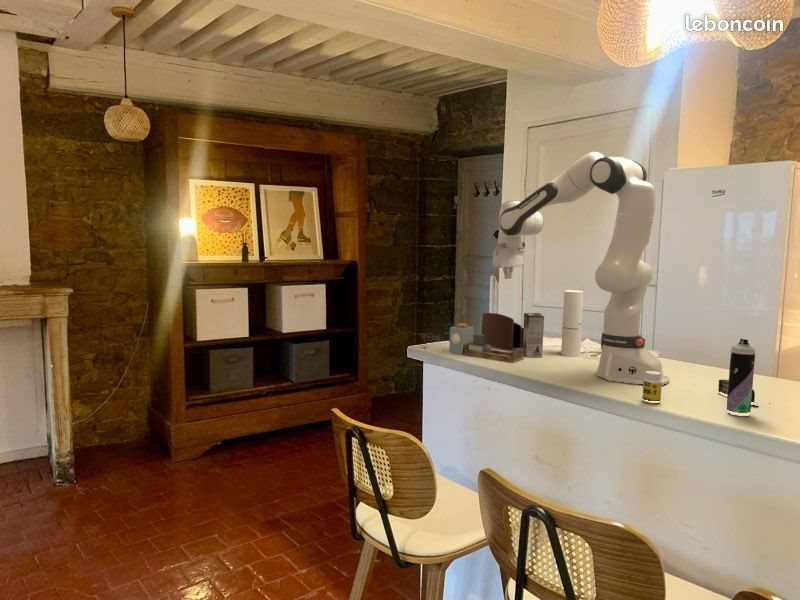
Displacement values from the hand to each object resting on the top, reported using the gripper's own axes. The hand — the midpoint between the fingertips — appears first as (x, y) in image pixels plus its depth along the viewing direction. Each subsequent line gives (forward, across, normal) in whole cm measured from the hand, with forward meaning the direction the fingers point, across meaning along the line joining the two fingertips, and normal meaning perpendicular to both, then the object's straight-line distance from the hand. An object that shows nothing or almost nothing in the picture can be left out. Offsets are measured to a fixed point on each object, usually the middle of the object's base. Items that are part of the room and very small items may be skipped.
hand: (508, 278), depth 231 cm
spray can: (+29, -34, -86) cm, 97 cm away
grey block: (+29, -13, +12) cm, 34 cm away
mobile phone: (+29, -18, -84) cm, 91 cm away
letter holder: (+30, +11, +6) cm, 32 cm away
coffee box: (+29, +1, -11) cm, 31 cm away
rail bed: (+29, -13, -2) cm, 32 cm away
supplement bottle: (+29, -37, -65) cm, 80 cm away
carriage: (+28, -13, +4) cm, 31 cm away
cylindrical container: (+29, +12, -22) cm, 39 cm away
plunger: (+25, -13, +12) cm, 30 cm away
